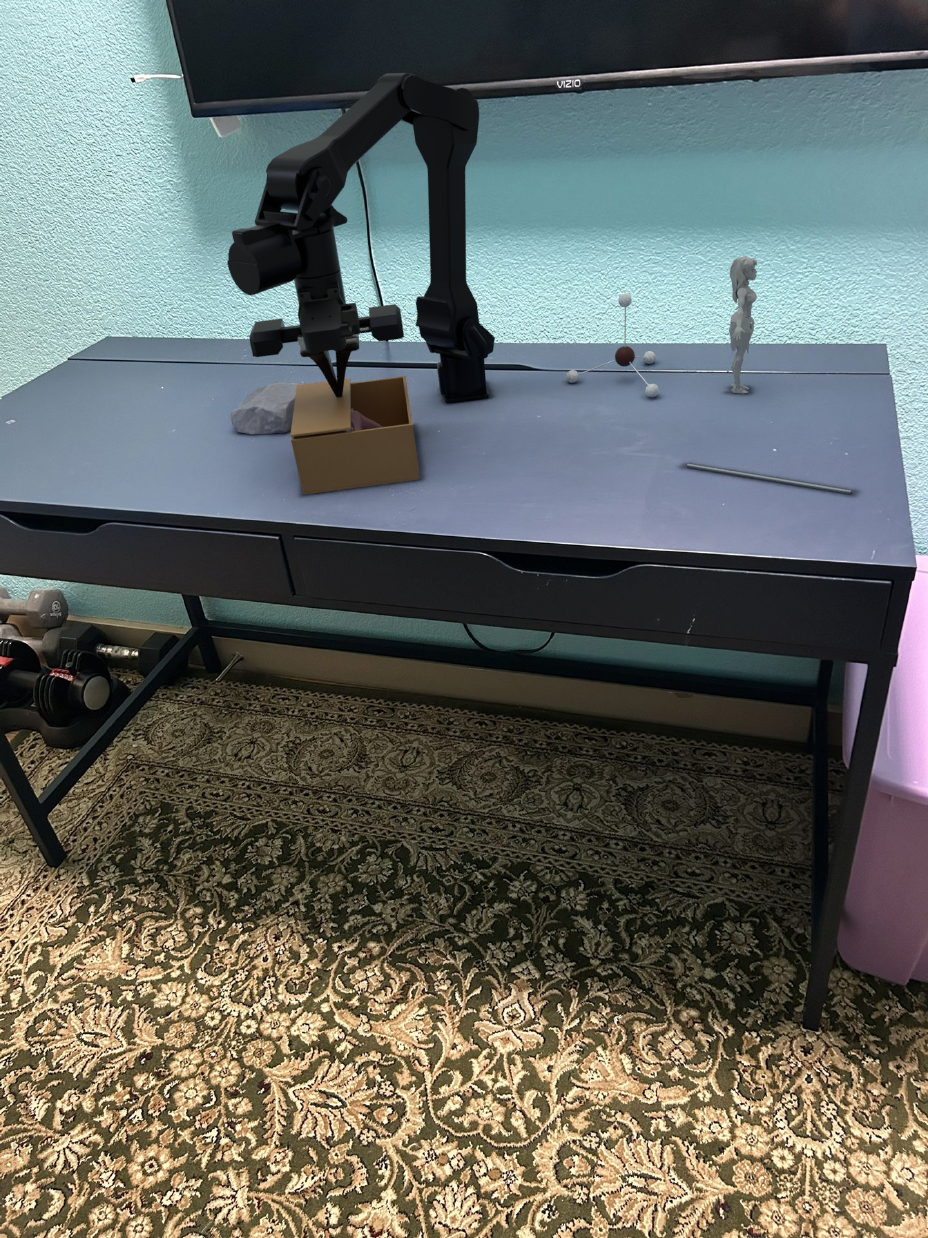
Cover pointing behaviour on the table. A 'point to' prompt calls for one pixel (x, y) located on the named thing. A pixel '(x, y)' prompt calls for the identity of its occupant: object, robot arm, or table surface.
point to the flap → (321, 409)
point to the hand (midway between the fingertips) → (339, 395)
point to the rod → (770, 479)
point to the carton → (362, 443)
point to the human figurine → (741, 315)
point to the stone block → (266, 410)
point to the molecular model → (624, 355)
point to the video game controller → (360, 422)
